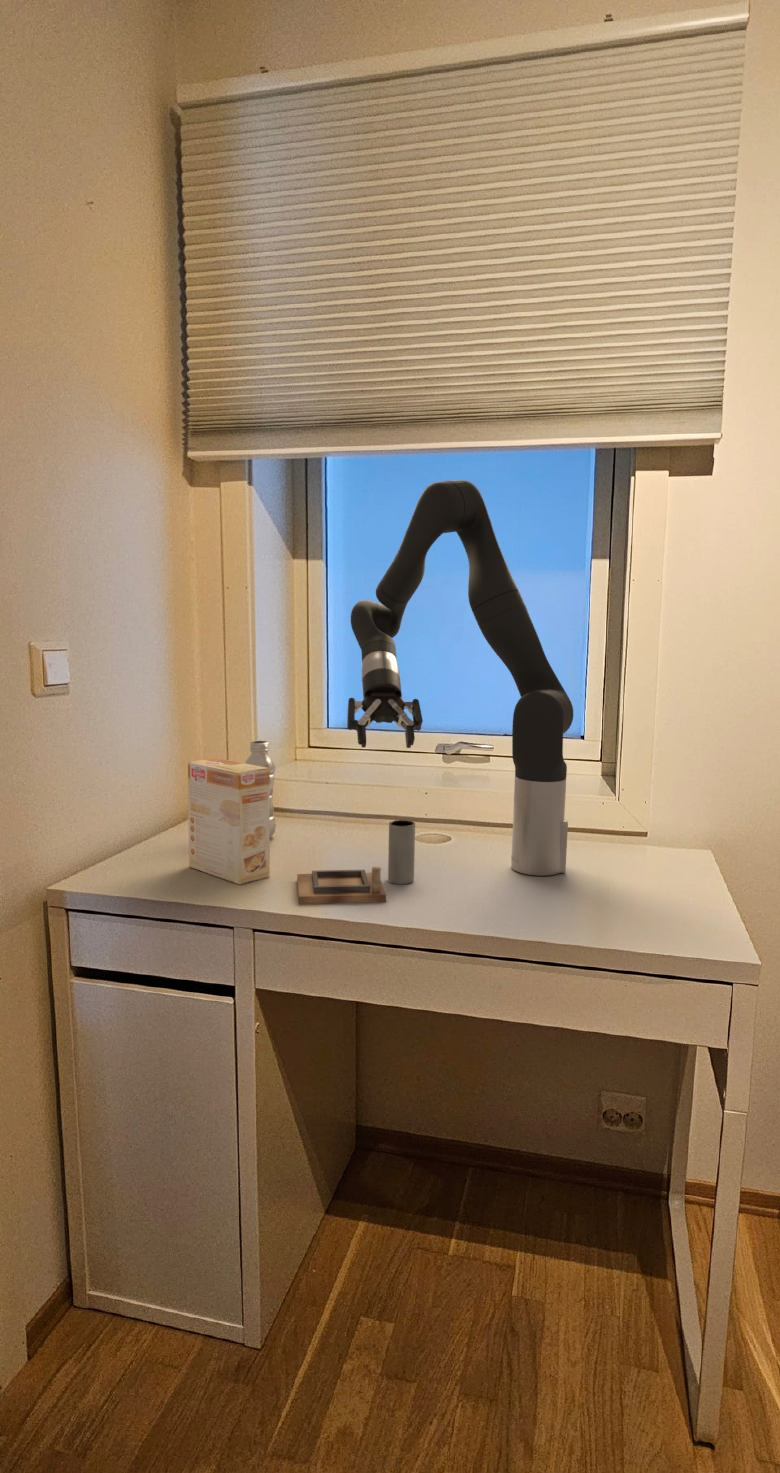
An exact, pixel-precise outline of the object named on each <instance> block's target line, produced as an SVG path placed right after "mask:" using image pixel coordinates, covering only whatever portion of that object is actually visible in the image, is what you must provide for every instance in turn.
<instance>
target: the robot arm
mask: <svg viewBox="0 0 780 1473" xmlns="http://www.w3.org/2000/svg"><path fill="white" fill-rule="evenodd" d="M409 521H410V522H409V523H408V526H407V528H406V531H405V534H404V536H403V539H402V541H401V543H400V546H399V548H398V550H397V552H396V555H395V557H394V558H393V560H392V561H391V563H390V565H389V567H388V568H387V570H386V571H385V573H384V575H383V576H382V578H381V579H380V582H379V583H378V585H377V586H376V588H375V596H376V599H377V601H378V602H377V601H376V602H375V601H372V600H369V599H361V600H359V601H357V602H356V603H355V605H354V606H353V607H352V609H351V612H350V613H351V614H350V626H351V629H352V632H353V636H354V637H355V639H356V641H357V644H358V646H359V648H360V651H361V663H362V666H361V682H362V683H361V684H362V695H363V696H362V698H363V699H362V701H361V700H360V701H359V700H356V699H355V698H354V697H350V698H348V702H347V724H346V725H347V726H346V728H347V729H348V730H350V731H352V730H355V731H356V734H357V744H358V745H360V746H361V748H366V747H367V746H366V745H367V727H369V726H370V725H371V724H373V722H375V723H377V724H379V723H380V724H381V723H387V724H392V723H395V725H397V727H399V728H401V729H403V730H404V731H405V732H404V736H405V746H406V749H411V747H412V746H414V743H415V731H417V732H418V731H422V730H421V729H422V726H423V722H424V720H423V716H422V710H421V705H420V700H419V699H418V698H414V699H413V700H412V701H405V700H404V699H403V695H402V694H403V692H402V686H401V685H402V684H401V677H400V674H401V673H400V668H399V667H400V666H399V664H398V660H397V658H398V657H397V651H396V643H395V641H394V639H393V638H394V637H396V636H397V635H398V633H399V631H400V628H401V625H402V621H403V616H404V613H405V610H406V608H407V606H408V604H409V602H410V600H411V598H412V597H413V595H414V594H415V593H416V591H417V589H418V588H419V586H420V584H421V583H422V580H423V578H424V575H425V571H426V570H425V569H426V557H427V555H428V552H429V550H430V548H431V547H432V546H433V544H434V543H435V542H436V541H437V540H438V539H439V538H440V537H441V535H443V534H449V533H457V535H458V537H459V540H460V541H461V544H462V545H463V548H464V551H465V553H466V556H467V559H468V567H469V568H468V571H469V572H468V584H467V585H468V587H467V588H468V590H467V594H468V596H467V597H468V602H469V606H470V610H471V611H472V614H473V616H474V618H475V622H476V623H477V626H478V627H479V630H480V632H481V634H482V635H483V638H484V639H485V640H486V642H487V643H488V645H489V646H490V648H491V649H492V650H493V652H494V653H495V654H496V656H497V657H498V658H499V660H501V662H502V663H503V665H504V666H505V667H506V668H507V669H508V671H509V673H510V675H511V676H512V678H513V680H514V682H515V686H516V688H517V690H518V693H519V695H520V697H519V699H518V700H517V703H516V704H515V707H514V710H513V714H512V715H513V716H512V734H511V738H512V740H511V741H512V742H511V743H512V747H511V748H512V749H511V753H512V762H513V766H514V792H513V813H512V814H513V817H512V836H511V837H512V841H511V866H510V867H511V869H512V870H513V871H515V872H516V873H517V872H518V873H520V874H525V875H528V876H529V875H530V876H541V877H543V876H553V875H554V876H555V875H558V874H560V873H563V874H565V873H566V871H567V870H566V869H567V852H568V851H567V848H568V831H569V830H568V829H569V822H568V821H567V819H565V812H566V811H565V810H566V791H567V790H566V788H567V776H568V775H567V772H568V770H567V769H568V767H567V763H566V761H565V758H564V755H563V754H564V752H563V751H564V734H565V733H567V732H568V730H569V729H570V727H571V726H572V723H573V719H574V707H573V704H572V701H571V699H570V698H569V695H568V694H567V692H566V690H565V688H564V687H563V685H562V683H561V682H560V680H559V679H558V677H557V675H556V673H555V671H554V670H553V668H552V666H551V664H550V662H549V660H548V658H547V656H546V654H545V651H544V649H543V646H542V643H541V641H540V637H539V635H538V632H537V630H536V628H535V626H534V623H533V621H532V619H531V617H530V614H529V611H528V609H527V606H526V604H525V602H524V598H523V597H522V595H521V592H520V590H519V588H518V586H517V584H516V582H515V580H514V578H513V576H512V573H511V571H510V569H509V566H508V563H507V562H506V561H507V560H505V557H504V554H503V552H502V549H501V546H500V545H499V542H498V540H497V537H496V533H495V530H494V528H493V525H492V521H491V518H490V515H489V512H488V509H487V506H486V502H485V500H484V498H483V496H482V494H481V492H480V489H478V487H477V486H476V485H475V484H474V483H472V482H471V481H468V480H465V479H458V480H457V479H456V480H443V481H442V480H441V481H435V482H432V483H431V484H429V485H428V486H426V488H424V490H423V492H422V493H421V495H420V497H419V499H418V500H417V503H416V506H415V508H414V511H413V513H412V516H411V519H410V520H409ZM360 709H361V710H362V711H363V712H364V713H363V715H362V716H361V717H360V718H359V719H356V718H355V714H356V713H357V712H359V710H360ZM405 709H406V710H407V711H408V712H409V714H411V716H412V719H411V718H410V717H409V716H408V715H407V714H408V713H406V711H405Z"/></svg>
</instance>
